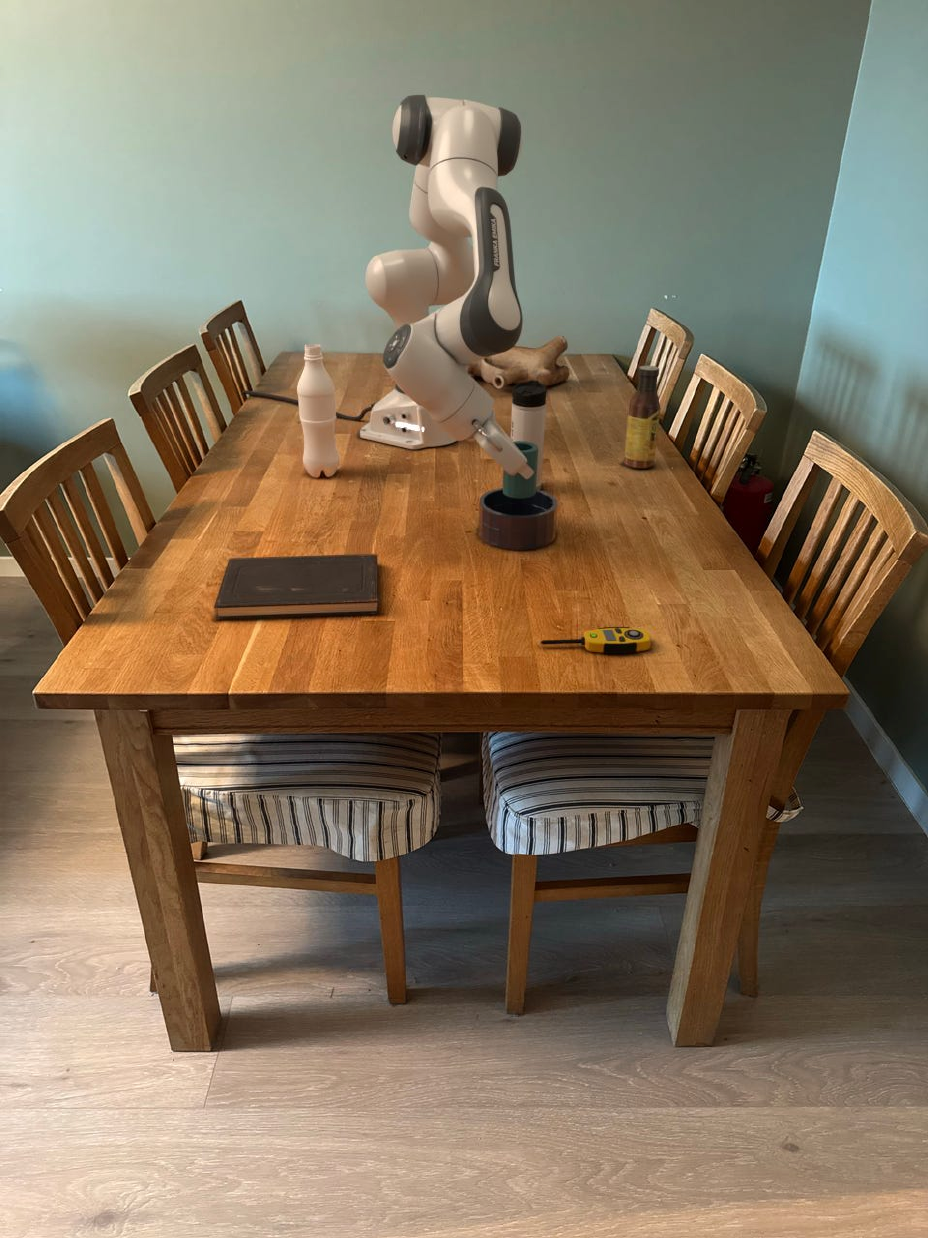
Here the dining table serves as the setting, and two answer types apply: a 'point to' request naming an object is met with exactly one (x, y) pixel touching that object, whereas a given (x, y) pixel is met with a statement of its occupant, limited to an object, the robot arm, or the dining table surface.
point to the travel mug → (529, 418)
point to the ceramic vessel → (524, 365)
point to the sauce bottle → (643, 420)
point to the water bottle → (317, 415)
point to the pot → (517, 520)
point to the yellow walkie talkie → (611, 640)
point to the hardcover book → (298, 587)
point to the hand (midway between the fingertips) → (523, 467)
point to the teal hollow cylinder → (517, 483)
